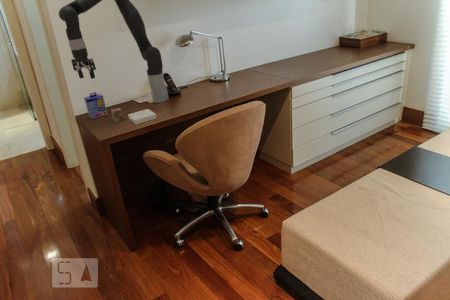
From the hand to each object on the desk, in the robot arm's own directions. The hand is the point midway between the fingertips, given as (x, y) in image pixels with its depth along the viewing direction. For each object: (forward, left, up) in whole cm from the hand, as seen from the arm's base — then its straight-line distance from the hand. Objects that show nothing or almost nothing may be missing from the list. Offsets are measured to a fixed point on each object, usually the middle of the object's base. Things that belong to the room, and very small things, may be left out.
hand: (87, 78), depth 194 cm
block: (-9, +8, -25) cm, 27 cm away
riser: (-20, +17, -25) cm, 36 cm away
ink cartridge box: (-2, -9, -25) cm, 26 cm away
